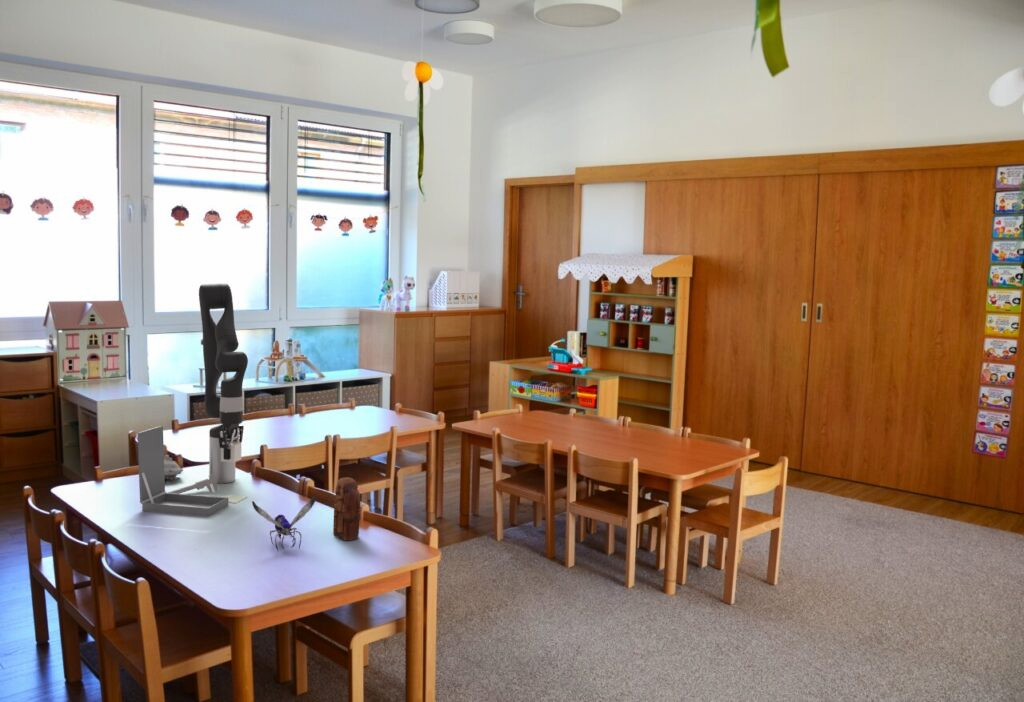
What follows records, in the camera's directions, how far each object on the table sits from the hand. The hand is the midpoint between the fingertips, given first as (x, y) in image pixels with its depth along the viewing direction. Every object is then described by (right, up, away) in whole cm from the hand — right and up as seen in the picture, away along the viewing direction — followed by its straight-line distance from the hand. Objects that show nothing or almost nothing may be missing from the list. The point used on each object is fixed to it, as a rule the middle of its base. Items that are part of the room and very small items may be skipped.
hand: (231, 457), depth 283 cm
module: (0, -1, 0) cm, 1 cm away
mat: (0, -15, +1) cm, 15 cm away
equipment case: (-11, -16, -11) cm, 22 cm away
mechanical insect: (+30, -21, -41) cm, 55 cm away
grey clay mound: (-33, -12, +25) cm, 43 cm away
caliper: (-18, -15, +7) cm, 24 cm away
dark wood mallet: (+46, -20, -31) cm, 59 cm away
